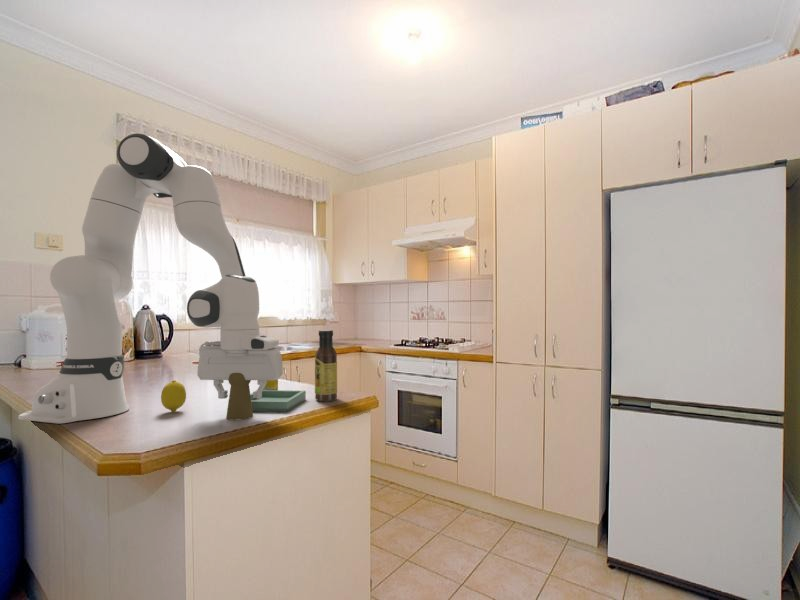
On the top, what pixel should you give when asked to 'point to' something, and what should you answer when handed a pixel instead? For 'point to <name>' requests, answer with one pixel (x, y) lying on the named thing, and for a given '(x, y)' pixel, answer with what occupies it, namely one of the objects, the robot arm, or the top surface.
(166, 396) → the lemon
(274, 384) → the supplement bottle
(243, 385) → the cork
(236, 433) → the top surface
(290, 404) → the tray
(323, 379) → the sauce bottle
